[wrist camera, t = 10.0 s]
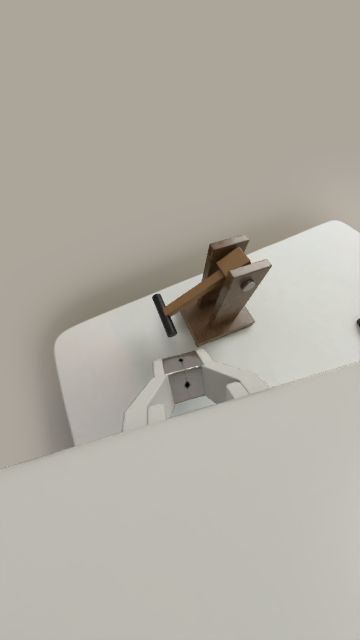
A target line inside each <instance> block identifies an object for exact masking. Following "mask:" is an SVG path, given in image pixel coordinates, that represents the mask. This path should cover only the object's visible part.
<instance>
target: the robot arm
mask: <svg viewBox="0 0 360 640" xmlns="http://www.w3.org/2000/svg"><path fill="white" fill-rule="evenodd" d="M153 373H154V378H152V379H151V380H150V381H149V382H148V384H147V385H146V386H145V387H144V389H143V390H142V391H141V392H140V394H139V395H138V396H137V397H136V399H135V400H134V401H133V402H132V404H131V405H130V406H129V407H128V409H127V410H126V411H125V412H124V418H123V425H122V432H121V433H119V434H115V435H112V436H109V437H105V438H102V439H99V440H95V441H92V442H89V443H85V444H82V445H79V446H75V447H72V448H69V449H65V450H62V451H59V452H55V453H52V454H49V455H46V456H42V457H39V458H35V459H32V460H29V461H25V462H22V463H19V464H15V465H12V466H9V467H5V468H2V469H0V640H360V361H359V362H356V363H353V364H349V365H346V366H342V367H339V368H336V369H332V370H329V371H326V372H322V373H319V374H316V375H312V376H309V377H306V378H302V379H299V380H296V381H292V382H289V383H286V384H282V385H279V386H276V387H272V388H270V387H269V386H268V385H267V384H266V383H265V382H264V381H263V380H262V379H261V378H260V377H259V376H258V375H256V374H253V373H250V372H247V371H244V370H241V369H238V368H235V367H231V366H228V365H225V364H222V363H219V362H213V360H212V359H211V357H210V356H209V355H208V353H207V352H206V351H205V349H199V350H196V351H192V352H188V353H185V354H181V355H177V356H172V357H168V358H164V359H159V360H155V361H153ZM205 395H206V397H208V398H209V399H211V400H212V401H214V402H215V403H217V404H216V405H212V406H209V407H206V408H202V409H199V410H196V411H192V412H189V413H185V414H182V415H179V416H175V417H172V418H170V416H171V413H172V411H173V408H174V404H177V403H180V402H183V401H186V400H189V399H193V398H197V397H201V396H205Z"/></svg>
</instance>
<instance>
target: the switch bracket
mask: <svg viewBox="0 0 360 640" xmlns="http://www.w3.org/2000/svg"><path fill="white" fill-rule="evenodd" d="M248 242H249V239H248V237H247V236H246V235H241V236H237V237H234V238H230V239H226V240H223V241H219V242H215V243H211V244H210V245H209V250H208V254H207V259H206V264H205V269H204V273H203V278H202V281H204V280H205V279H207V278H208V277H210V276H211V275H212V274H214V273H215V272H217V271H218V270H220V269H219V268H218V266H217V264H216V263H217V262H218V261H219V260H221V259H222V258H224V257H225V256H226V255H228V254H229V253H231V252H232V251H233V250H235V249H236V248H238V247H240V248H241V250H242V251H243V252H244V251H245V249H246V247H247V244H248ZM271 266H272V265H271V264H270V263H269V261H268V260H267V259H265V260H262V261H259V262H255V263H252V264H249V265H246V266H243V267H240V268H236V269H233V270H230V271H228V274H227V277H226V279H225V281H224V282H223V283H221V284H220V285H218V286H217V287H215V288H214V289H212V290H211V291H209V292H207V293H206V294H204V295H203V296H201V297H200V298H198V299H197V300H195V301H194V302H192V303H191V304H189V305H188V306H186V307H185V308H183V309H182V310H180V311H181V313H182V315H183V317H184V319H185V321H186V324H187V326H188V328H189V330H190V332H191V334H192V336H193V338H194V340H195V342H196V345H197V346H200V345H203V344H205V343H208V342H210V341H213V340H215V339H218V338H220V337H223V336H225V335H228V334H230V333H233V332H235V331H238V330H240V329H243V328H245V327H248V326H250V325H252V324H253V323H254V322H255V321H254V319H253V318H252V316H251V315H250V313H249V312H248V310H247V309H246V307H245V304H246V303H247V301H248V300H249V298H250V297H251V296H252V294H253V293H254V291H255V290H256V288H257V287H258V285H259V284H260V282H261V281H262V280H263V278H264V277H265V275H266V274H267V272H268V271H269V269H270V268H271Z"/></svg>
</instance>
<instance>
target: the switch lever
mask: <svg viewBox="0 0 360 640" xmlns="http://www.w3.org/2000/svg"><path fill="white" fill-rule="evenodd" d="M216 264H217V266H218V268H219V269H220V270H218V271H217V272H215V273H214V274H212V275H211V276H210V277H208V278H207V279H205V280H204V281H202V282H201V283H199V284H198V285H196V286H195V287H194V288H192V289H191V290H189V291H188V292H186V293H185V294H183V295H182V296H181V297H179V298H178V299H176V300H175V301H173V302H172V303H170V304H169V305H167V306H165V304H164V301H163V299H162V297H161V295H160V294H155V295H154V296H153V297H152V298H153V301H154V303H155V306H156V308H157V311H158V313H159V316H160V318H161V321H162V323H163V326H164V328H165V331H166V333H167V335H168V337H172V336H175V335H176V334H177V331H176V329H175V327H174V324H173V322H172V320H171V316H173V315H174V314H176V313H177V312H179V311H180V310H182V309H183V308H185V307H186V306H188V305H189V304H191V303H192V302H194V301H195V300H197V299H198V298H200V297H201V296H203V295H204V294H206V293H207V292H209V291H211V290H212V289H214V288H215V287H217V286H218V285H220V284H221V283H223V282H224V281H225V279H226V277H227V274H228V271H230V270H233V269H236V268H240V267H243V266H246V265H249V264H251V262H250V259H249V258H248V257H247V256H246V255H245V253H244V252H243V251H242V250H241V248H240V247H238V248H236V249H235V250H233V251H232V252H231V253H229V254H228V255H226V256H225V257H224V258H222V259H221V260H219V261H218V262H217V263H216Z"/></svg>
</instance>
